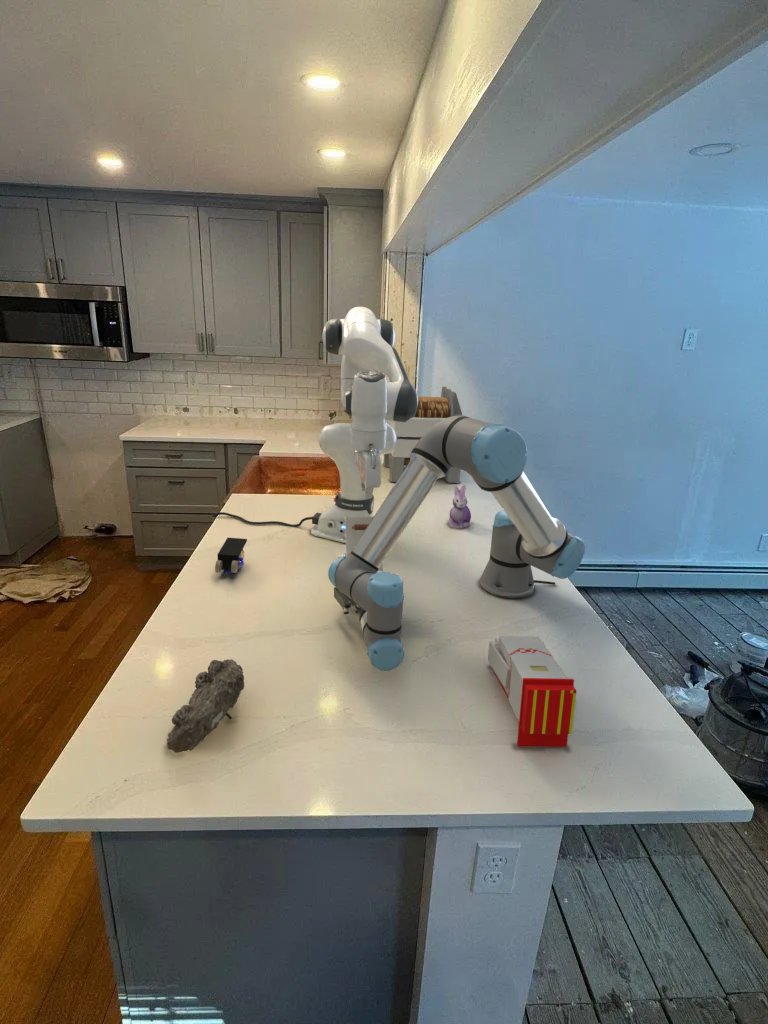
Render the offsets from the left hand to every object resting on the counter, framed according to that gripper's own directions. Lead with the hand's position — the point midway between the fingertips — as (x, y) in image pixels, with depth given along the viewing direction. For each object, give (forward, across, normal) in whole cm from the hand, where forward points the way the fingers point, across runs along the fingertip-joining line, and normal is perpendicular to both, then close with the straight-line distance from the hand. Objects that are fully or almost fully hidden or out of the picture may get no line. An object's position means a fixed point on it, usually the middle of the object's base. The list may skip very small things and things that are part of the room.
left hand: (366, 493), depth 143 cm
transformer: (+32, +123, -45) cm, 135 cm away
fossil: (+30, -42, +35) cm, 63 cm away
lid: (+14, +1, 0) cm, 14 cm away
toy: (+30, -45, -27) cm, 60 cm away
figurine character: (+31, +22, +36) cm, 52 cm away
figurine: (+31, +54, -44) cm, 76 cm away
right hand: (+24, +1, 0) cm, 24 cm away
